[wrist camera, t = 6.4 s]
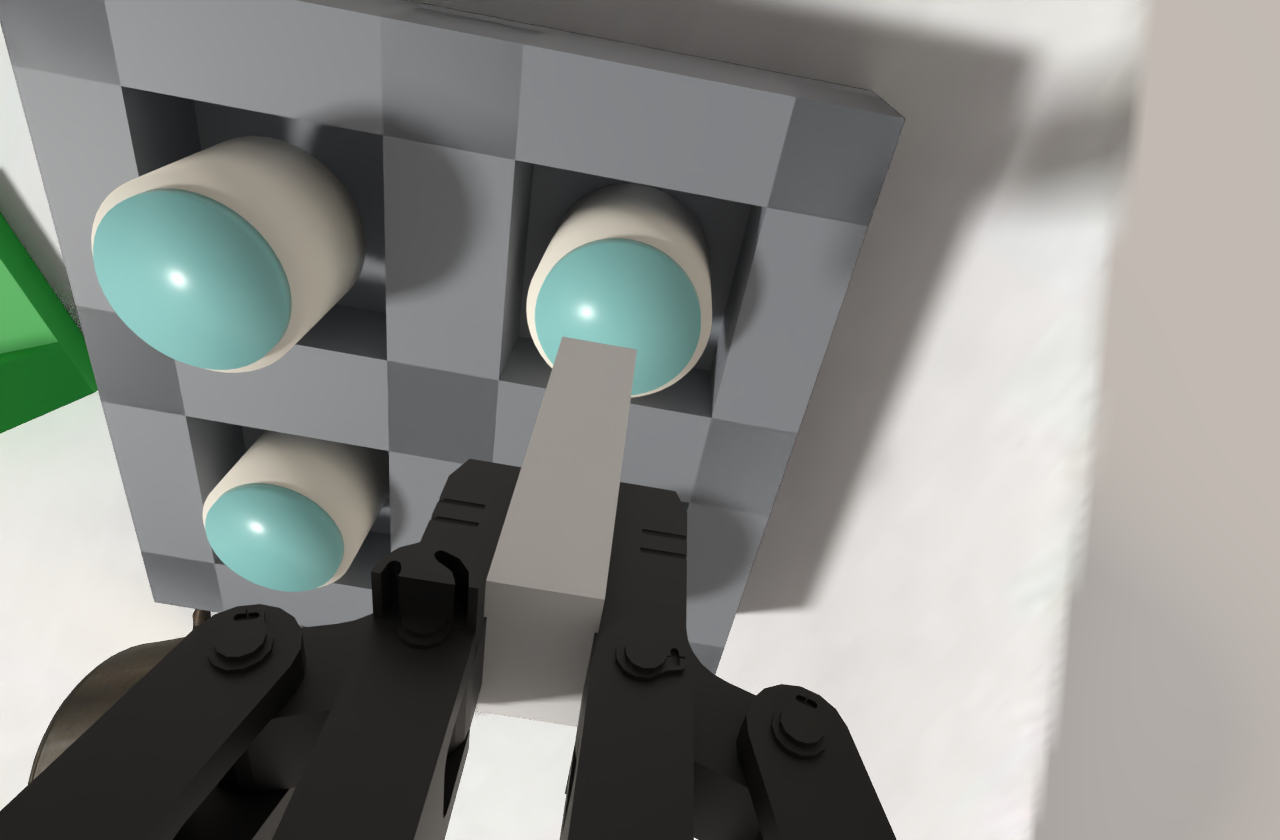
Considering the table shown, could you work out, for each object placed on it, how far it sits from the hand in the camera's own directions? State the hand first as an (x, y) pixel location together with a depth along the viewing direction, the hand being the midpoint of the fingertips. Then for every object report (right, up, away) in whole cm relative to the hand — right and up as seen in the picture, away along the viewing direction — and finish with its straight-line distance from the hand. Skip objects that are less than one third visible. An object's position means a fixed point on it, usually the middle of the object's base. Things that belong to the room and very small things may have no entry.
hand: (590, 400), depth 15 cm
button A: (+1, +5, +8) cm, 9 cm away
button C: (-9, +5, +6) cm, 12 cm away
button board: (-5, +2, +12) cm, 13 cm away
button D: (-11, -2, +13) cm, 17 cm away
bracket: (-26, +4, +13) cm, 29 cm away
